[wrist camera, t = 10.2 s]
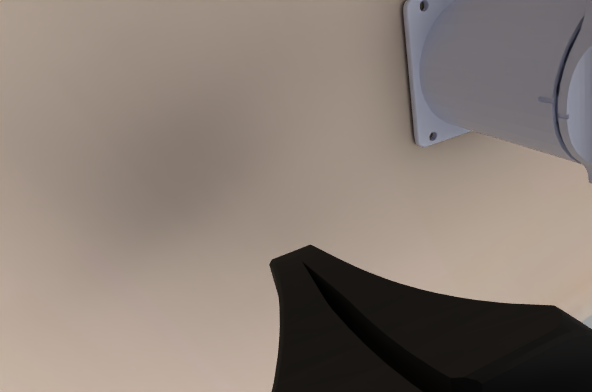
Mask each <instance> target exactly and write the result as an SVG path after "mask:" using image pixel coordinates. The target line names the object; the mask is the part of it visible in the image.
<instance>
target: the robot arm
mask: <svg viewBox="0 0 592 392" xmlns="http://www.w3.org/2000/svg"><path fill="white" fill-rule="evenodd" d="M421 2H423V3H424V8H423V10H422V11H421V10H420V3H421ZM403 14H404V25H405V37H406V48H407V59H408V70H409V81H410V92H411V103H412V114H413V125H414V136H415V142H416V144H417V145H419V146H421V147H427V146H430V145H433V144H436V143H439V142H442V141H444V140H447V139H450V138H453V137H456V136H459V135H462V134H465V133H468V132H471V131H475V132H478V133H482V134H485V135H488V136H492V137H495V138H498V139H501V140H505V141H508V142H511V143H515V144H518V145H521V146H524V147H528V148H531V149H534V150H538V151H541V152H544V153H547V154H551V155H554V156H557V157H560V158H564V159H567V160H570V161H574V162H577V163H580V164H582V165H584V167H585V168H586V170H587V172H588V178H589V183H592V0H407V1H406V2H405V4H404V6H403ZM432 132H433V136H432V138H431V139H430V138H429V136H430V134H431V133H432ZM269 265H270V268H271V272H272V275H273V279H274V282H275V285H276V289H277V292H278V296H279V306H280V336H279V349H278V358H277V365H276V372H275V378H274V384H273V388H272V392H592V329H591V328H589V327H587V326H586V325H584V324H583V323H581V322H580V321H578V320H577V319H575V318H574V317H572V316H570V315H569V314H567V313H566V312H564V311H563V310H561V309H559V308H557V307H556V306H552V305H530V304H509V303H498V302H489V301H480V300H472V299H466V298H459V297H454V296H449V295H444V294H438V293H434V292H429V291H425V290H421V289H417V288H414V287H410V286H407V285H403V284H400V283H397V282H394V281H391V280H388V279H385V278H382V277H380V276H377V275H374V274H372V273H369V272H367V271H364V270H362V269H360V268H357V267H355V266H353V265H351V264H349V263H346V262H344V261H342V260H340V259H338V258H336V257H334V256H332V255H330V254H328V253H326V252H324V251H322V250H320V249H318V248H316V247H314V246H312V245H308V246H306V247H303V248H301V249H298V250H295V251H293V252H290V253H288V254H285V255H283V256H280V257H278V258H275V259H272V261H271V262H270V264H269Z"/></svg>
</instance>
